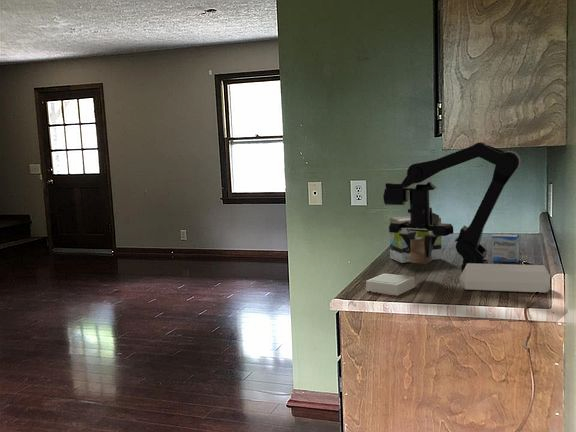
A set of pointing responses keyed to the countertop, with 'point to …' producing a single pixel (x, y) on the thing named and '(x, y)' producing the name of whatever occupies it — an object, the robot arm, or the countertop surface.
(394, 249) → the tea box
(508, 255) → the medicine box
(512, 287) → the crystal
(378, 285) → the base slab
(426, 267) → the countertop surface
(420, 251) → the walnut block
